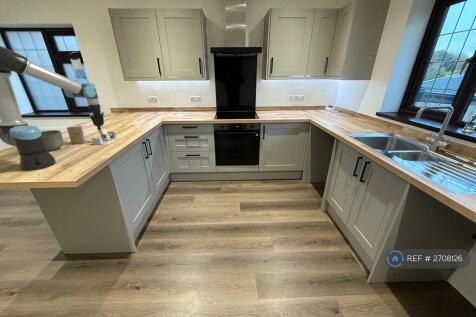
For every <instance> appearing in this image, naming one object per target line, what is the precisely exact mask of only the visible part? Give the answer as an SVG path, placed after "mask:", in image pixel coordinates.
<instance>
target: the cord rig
mask: <svg viewBox="0 0 476 317" xmlns="http://www.w3.org/2000/svg"><path fill="white" fill-rule="evenodd" d="M106 133H109V136H110V139H109V140H102V139H103V138H106V136H105V135H104V136H101V135H100V136H99V137H95V136H94V137H92V138H91V142H92V144H91V145H94V146H97V145H98V146H102V145H104V144H108V143H110V142H112V141H114V139H115V140H117V139H116V138H117V137H116V132H115V131H108V132H107V131H106ZM109 141H110V142H109Z"/></svg>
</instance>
